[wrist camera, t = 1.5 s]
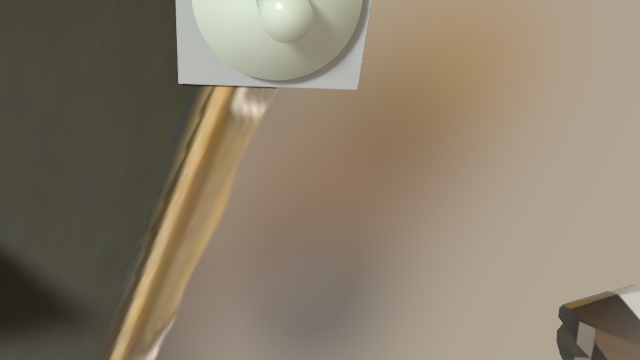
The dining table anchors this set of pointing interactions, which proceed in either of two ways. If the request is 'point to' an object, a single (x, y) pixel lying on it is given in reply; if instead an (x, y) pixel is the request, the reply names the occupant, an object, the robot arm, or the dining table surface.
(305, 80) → the mat
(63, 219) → the dining table surface
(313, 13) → the lid
